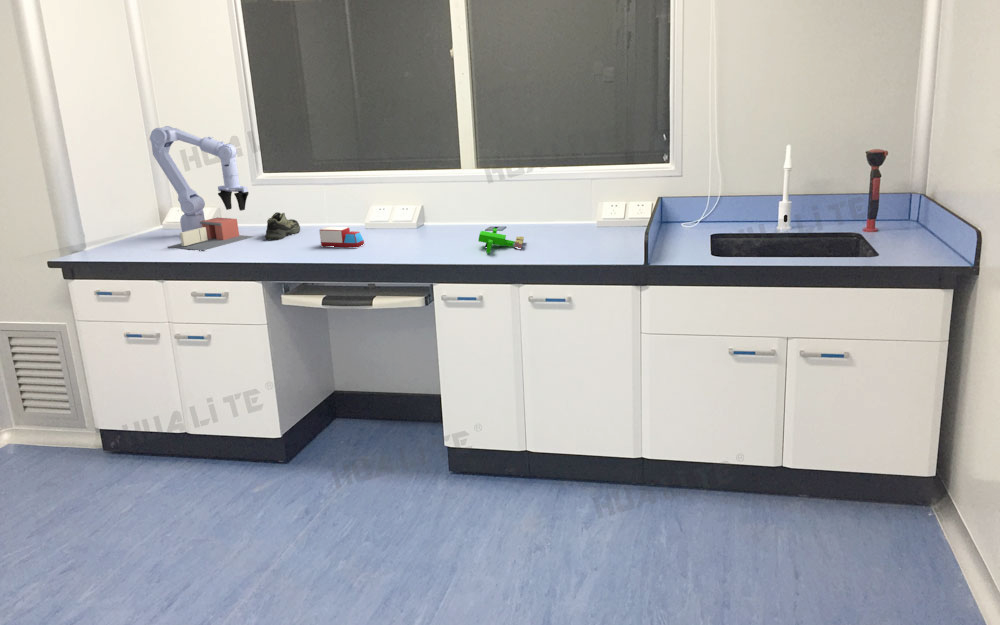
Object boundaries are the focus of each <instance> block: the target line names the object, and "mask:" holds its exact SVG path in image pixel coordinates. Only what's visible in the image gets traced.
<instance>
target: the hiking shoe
mask: <svg viewBox="0 0 1000 625" xmlns="http://www.w3.org/2000/svg"><path fill="white" fill-rule="evenodd" d="M266 223H267V225H266V231H265V240H268V241H279V240H283V239H285V237H287V236H292V234H294V235H297V234H299V233H300V231H301V226H300V223H299V222H298V221H297V220H296V219H287V217H286V213H285V212H282V213H281V212H279V211H278V212H274V213H273V214H272V216H271V217H269V218H268V219H267V221H266Z"/></svg>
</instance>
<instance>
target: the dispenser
mask: <svg viewBox="0 0 1000 625" xmlns="http://www.w3.org/2000/svg"><path fill="white" fill-rule="evenodd" d="M200 224H202V227H206V232H207V239H213V238H216V239H217V240H226V239H230V238H233V237H237V236H239V235H240V233H239V232H240V230H239V225H238V219H237V218H229V217H228V218H227V217H218V216H217V217H213V218H209V219H205V221H201V222H200Z"/></svg>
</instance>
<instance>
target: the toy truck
mask: <svg viewBox="0 0 1000 625" xmlns="http://www.w3.org/2000/svg"><path fill="white" fill-rule="evenodd" d="M319 238H320V239H319V240H320V247H321V246H334V247H359V246H361V245H363V244H364V245H365V241H364V238H363V235H362V233H361V232H360V231H351V230H350V227H349V226H348V227H347V226H346V227H344V226H340V227H339V226H326V227H323V228H320V229H319ZM361 247H362V246H361ZM359 248H360V247H359Z"/></svg>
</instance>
